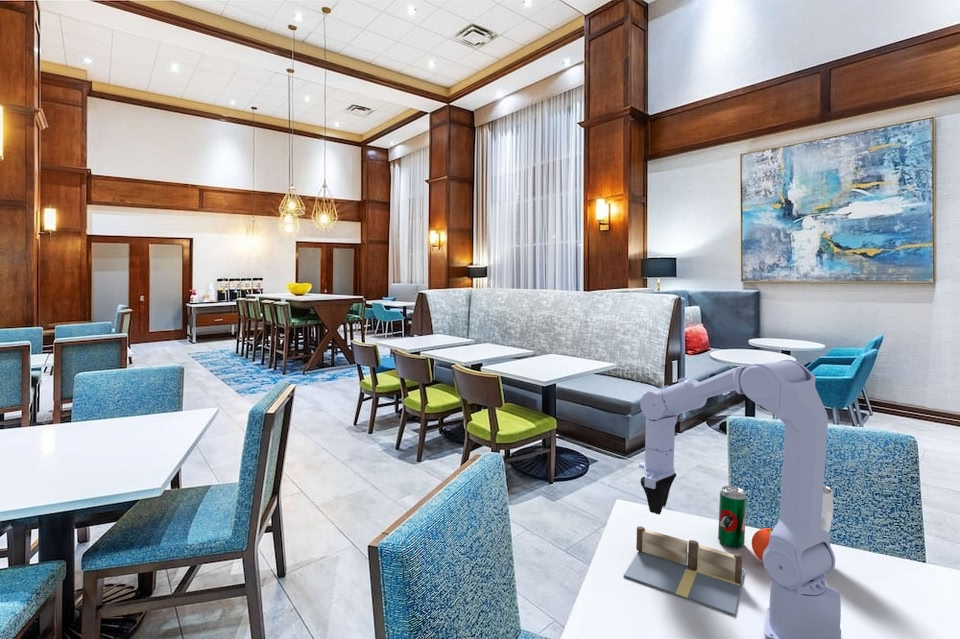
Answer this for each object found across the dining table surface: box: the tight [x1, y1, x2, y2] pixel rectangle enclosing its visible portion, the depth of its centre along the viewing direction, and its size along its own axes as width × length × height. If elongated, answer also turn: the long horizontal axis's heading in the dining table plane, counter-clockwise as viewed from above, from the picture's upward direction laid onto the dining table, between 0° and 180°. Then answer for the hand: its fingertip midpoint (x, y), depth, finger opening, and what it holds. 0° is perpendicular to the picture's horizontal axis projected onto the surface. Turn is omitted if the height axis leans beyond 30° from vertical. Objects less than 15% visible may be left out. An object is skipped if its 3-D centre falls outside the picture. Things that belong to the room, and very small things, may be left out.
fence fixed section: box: [687, 539, 744, 585], centre depth 91 cm, size 9×2×5 cm, turn 55°
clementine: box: [751, 527, 774, 563], centre depth 95 cm, size 8×7×7 cm
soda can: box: [717, 485, 747, 549], centre depth 103 cm, size 5×5×12 cm
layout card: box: [623, 550, 745, 617], centre depth 92 cm, size 19×15×1 cm
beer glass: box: [821, 485, 834, 534], centre depth 97 cm, size 7×7×15 cm
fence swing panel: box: [635, 525, 689, 565], centre depth 97 cm, size 10×2×5 cm, turn 55°
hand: (657, 508), depth 101 cm, fingers open, 3 cm apart
